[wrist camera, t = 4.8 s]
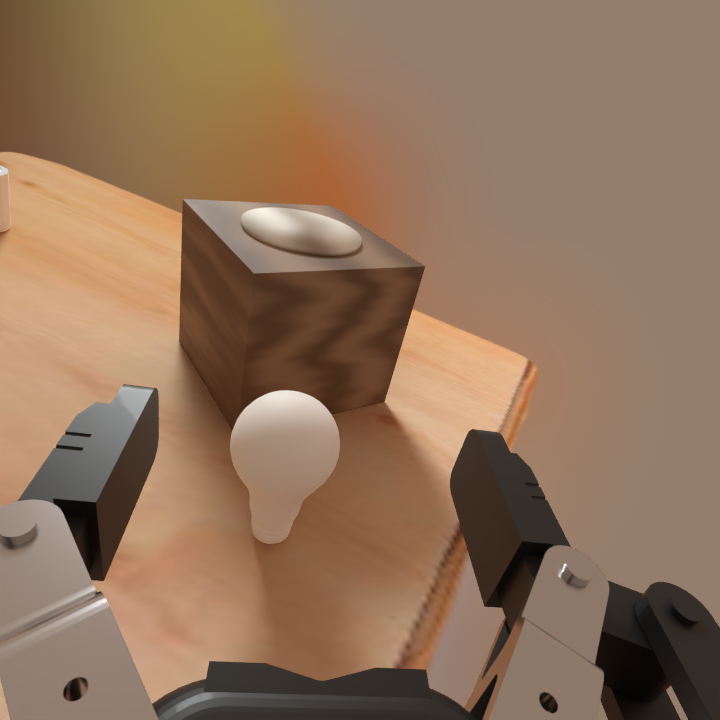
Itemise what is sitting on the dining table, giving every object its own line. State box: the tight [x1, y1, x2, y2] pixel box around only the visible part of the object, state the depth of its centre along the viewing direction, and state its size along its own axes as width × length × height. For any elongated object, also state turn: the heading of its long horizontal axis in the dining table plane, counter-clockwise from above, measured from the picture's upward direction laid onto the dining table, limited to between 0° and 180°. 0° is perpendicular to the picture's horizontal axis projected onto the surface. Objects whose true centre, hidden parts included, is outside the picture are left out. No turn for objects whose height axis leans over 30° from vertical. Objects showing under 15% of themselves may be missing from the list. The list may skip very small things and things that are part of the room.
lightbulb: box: [230, 390, 340, 544], centre depth 29 cm, size 6×6×11 cm
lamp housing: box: [179, 199, 425, 430], centre depth 44 cm, size 15×15×14 cm
